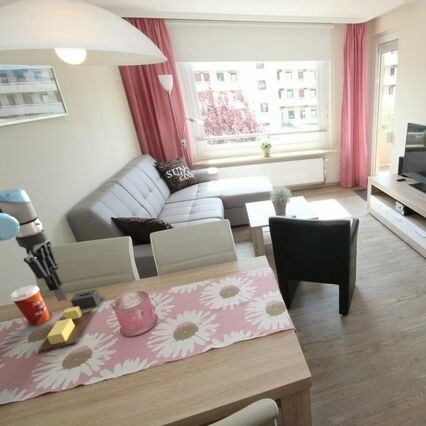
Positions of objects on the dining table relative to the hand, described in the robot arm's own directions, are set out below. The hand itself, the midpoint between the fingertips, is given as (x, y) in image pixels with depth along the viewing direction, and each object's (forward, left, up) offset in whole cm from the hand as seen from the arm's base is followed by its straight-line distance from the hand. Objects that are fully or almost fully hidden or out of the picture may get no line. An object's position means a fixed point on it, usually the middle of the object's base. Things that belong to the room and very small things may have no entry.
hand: (56, 287), depth 111 cm
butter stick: (0, -8, -16) cm, 18 cm away
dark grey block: (+2, +10, -17) cm, 20 cm away
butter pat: (0, +2, -16) cm, 16 cm away
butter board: (0, -5, -17) cm, 18 cm away
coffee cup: (-14, +6, -17) cm, 23 cm away
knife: (0, 0, -6) cm, 6 cm away
